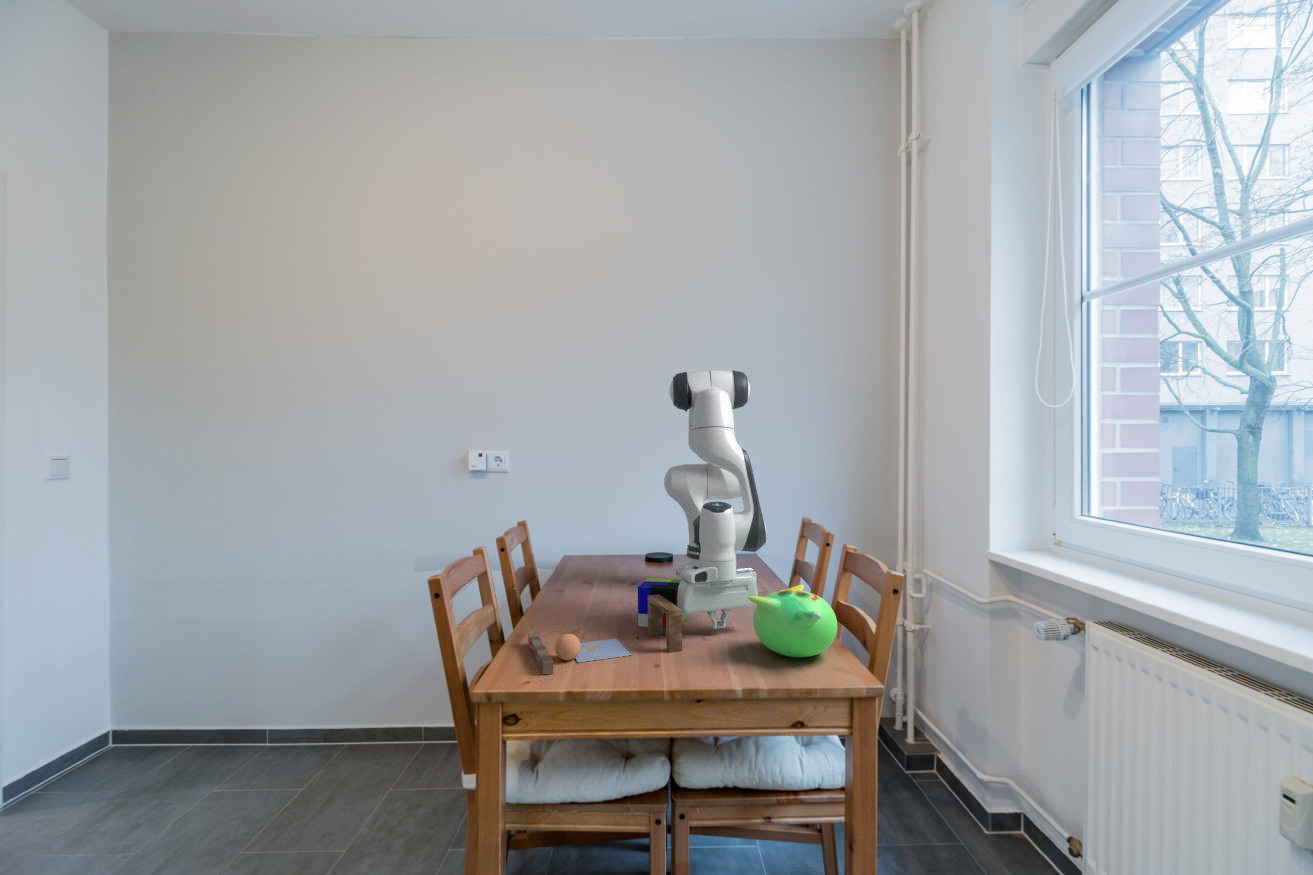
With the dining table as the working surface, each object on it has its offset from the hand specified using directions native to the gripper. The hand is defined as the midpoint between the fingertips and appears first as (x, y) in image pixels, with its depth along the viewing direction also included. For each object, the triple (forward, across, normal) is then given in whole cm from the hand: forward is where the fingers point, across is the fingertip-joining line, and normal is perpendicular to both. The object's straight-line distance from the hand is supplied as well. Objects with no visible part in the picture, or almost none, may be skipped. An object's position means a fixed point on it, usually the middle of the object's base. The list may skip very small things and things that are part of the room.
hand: (718, 627), depth 154 cm
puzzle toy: (+2, +9, -15) cm, 18 cm away
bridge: (+2, +14, 0) cm, 14 cm away
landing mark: (+2, +30, 0) cm, 30 cm away
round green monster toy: (+2, -9, +19) cm, 21 cm away
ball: (-1, +38, +3) cm, 38 cm away
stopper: (+2, +43, 0) cm, 43 cm away
